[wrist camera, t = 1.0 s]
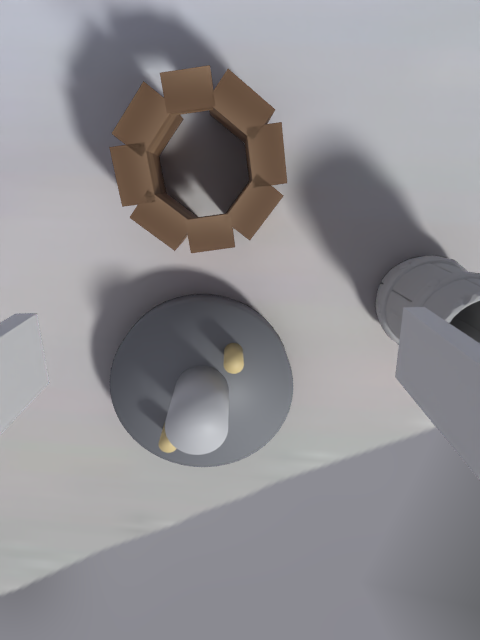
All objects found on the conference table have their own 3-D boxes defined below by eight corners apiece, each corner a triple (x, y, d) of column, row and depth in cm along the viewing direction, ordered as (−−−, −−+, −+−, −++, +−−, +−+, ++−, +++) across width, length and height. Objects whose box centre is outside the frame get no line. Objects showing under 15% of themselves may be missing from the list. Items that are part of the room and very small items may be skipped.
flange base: (182, 257, 33) (167, 279, 25) (324, 361, 36) (348, 408, 28) (85, 392, 36) (46, 447, 29) (221, 476, 39) (219, 545, 32)
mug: (431, 232, 33) (539, 257, 21) (503, 339, 36) (631, 411, 24) (352, 292, 34) (414, 346, 23) (427, 390, 37) (515, 481, 26)
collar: (117, 99, 29) (95, 82, 24) (268, 76, 29) (275, 55, 24) (148, 250, 33) (134, 261, 28) (283, 231, 32) (292, 239, 28)
